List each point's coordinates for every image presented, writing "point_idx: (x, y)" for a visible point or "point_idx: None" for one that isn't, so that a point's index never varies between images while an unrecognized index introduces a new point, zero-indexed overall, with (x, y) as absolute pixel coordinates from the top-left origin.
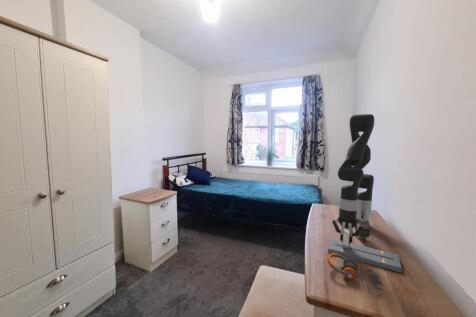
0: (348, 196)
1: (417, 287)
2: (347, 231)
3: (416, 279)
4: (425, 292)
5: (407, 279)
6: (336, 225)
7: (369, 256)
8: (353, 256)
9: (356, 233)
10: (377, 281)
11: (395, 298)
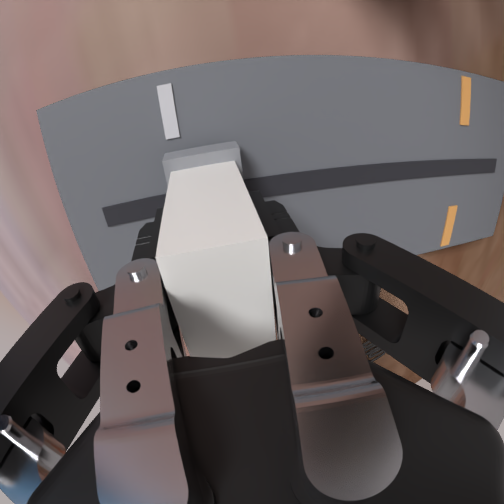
0: None
1: (480, 283)
2: (231, 284)
3: (500, 235)
4: (486, 292)
5: (476, 258)
6: (73, 435)
7: (390, 224)
8: None
9: (379, 331)
10: (375, 355)
11: (400, 373)
